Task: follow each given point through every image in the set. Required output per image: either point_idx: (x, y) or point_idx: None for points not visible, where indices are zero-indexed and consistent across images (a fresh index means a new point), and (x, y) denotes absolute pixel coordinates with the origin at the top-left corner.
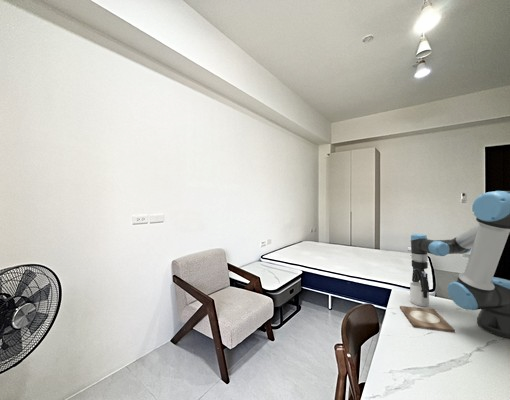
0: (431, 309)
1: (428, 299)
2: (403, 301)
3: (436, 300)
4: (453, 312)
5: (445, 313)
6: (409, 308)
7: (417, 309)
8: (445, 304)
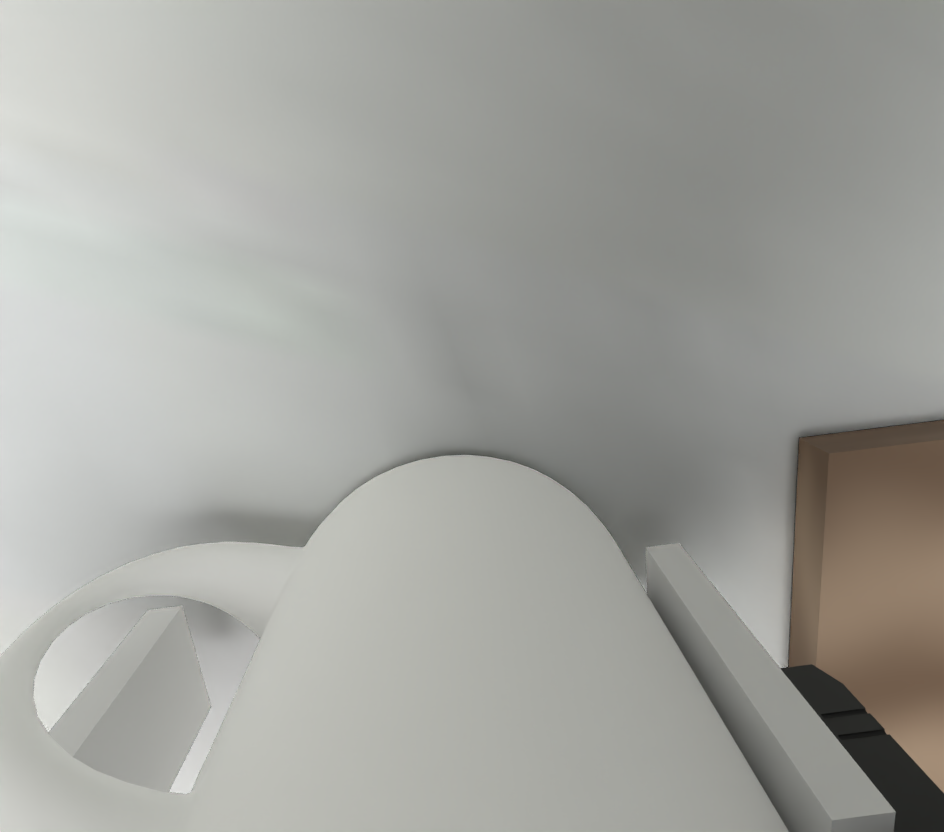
0: (854, 504)
1: (589, 539)
2: None
3: (88, 198)
4: (750, 37)
5: (842, 243)
6: None
7: (899, 728)
8: (286, 49)
